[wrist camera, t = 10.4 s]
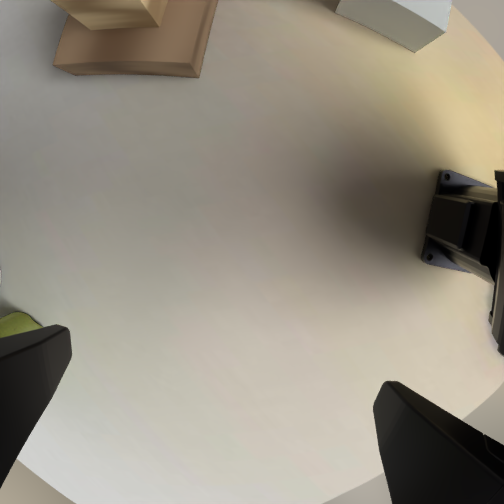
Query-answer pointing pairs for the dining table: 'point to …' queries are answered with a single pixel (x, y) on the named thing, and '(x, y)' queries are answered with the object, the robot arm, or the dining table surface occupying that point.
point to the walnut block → (141, 44)
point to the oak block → (115, 12)
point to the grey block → (400, 19)
